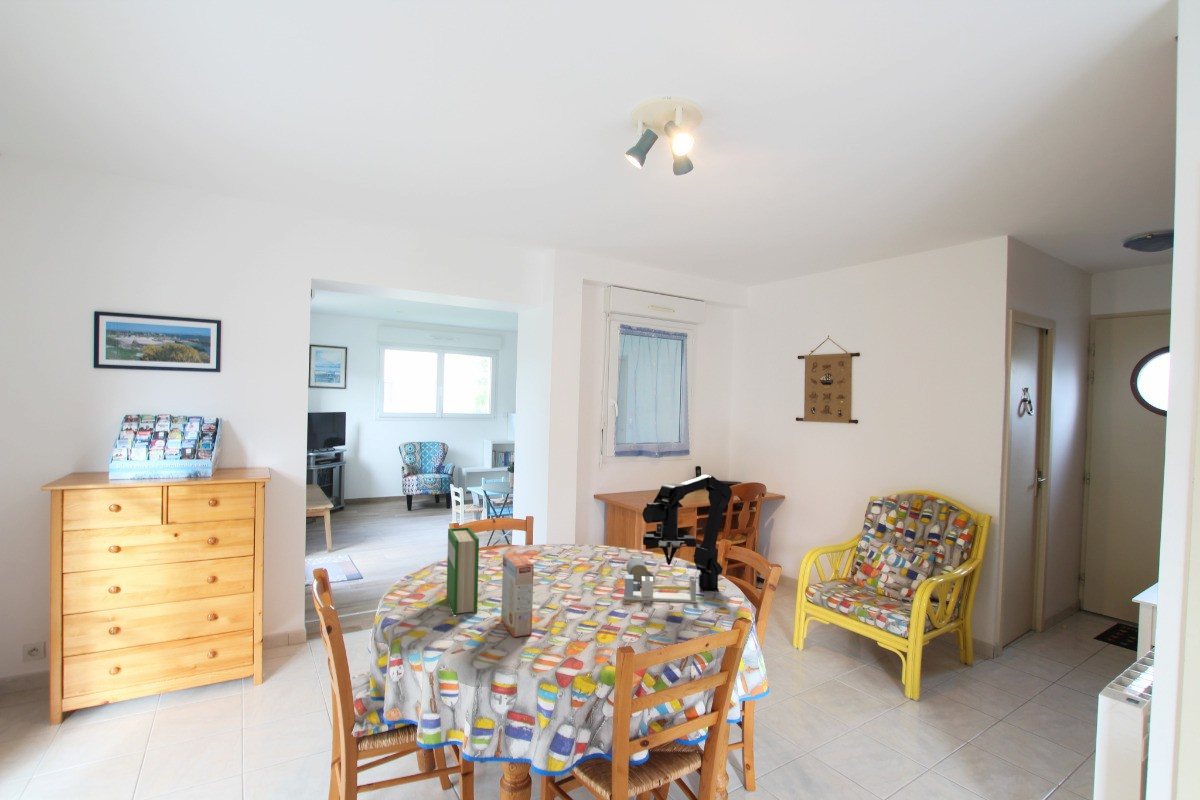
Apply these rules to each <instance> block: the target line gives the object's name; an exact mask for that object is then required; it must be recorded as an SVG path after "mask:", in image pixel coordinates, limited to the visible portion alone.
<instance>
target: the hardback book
mask: <svg viewBox="0 0 1200 800" xmlns="http://www.w3.org/2000/svg"><path fill="white" fill-rule="evenodd" d="M479 543H480V538H479V537H478V536H477V535H476V533H475V532H474V531H473V529H471V527H469V526H467V527H466V526H465V527H455V528H454V527H453V528H447V560H446V561H447V563H446V565H447V566H446V567H447V568H446V572H447V573H446V600H447V599H448V600H447V603H448V602H449V603H448V605H449V604H450V606H449V608H450V607H451V608H450V610H451V609H452V611H451V613H452V612H453V614H454V615H457V614H462V613H472V612H473V611H474V612H473V614H474V613H477V614H478V603H479V602H478V601H479V600H478V598H479V558H480V557H479V553H480V550H479V549H480V548H479V547H480V544H479ZM453 614H452V615H453ZM457 616H458V615H457Z"/></svg>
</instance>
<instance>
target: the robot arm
mask: <svg viewBox="0 0 1200 800" xmlns="http://www.w3.org/2000/svg"><path fill="white" fill-rule="evenodd" d="M703 489H704V490H705V491H707V492H708V496H707V498H708V503H709V505H710V506H709V510H708V515H707V516H708V517H707V521H706V525H705V530H704V533H703V534H704V535H703V538H702V543H701V544H700V545H699V546H697V543H698V542H697V539H696V538H697V537H695V535H691V534H690V535H688V534H687V535H683V537H678V527H679V525H678V524H679V509H681V508H683V507H684V505H683V504H682V503H680V501H682V500H683V499H684V498H685V497H686V495H688V494H692V493H694V492H697V491H700V490H703ZM732 494H733V490H732V488H731V486H730V485H727V484H725V483H724V482H722V481H721V480H718V479H717V478H715V476H713V475H712V474H711V475H710V474H702V475H700V476H697V477H695V478H691V479H688V480H685V481H682V482H679V483H666V484H663V485H661V486H660V489H659V491H658V493H657V495H656V496H655V498H654V500H653V503H650V502H647V503H646V507H644V508H643V510H642V520H643V521H644V523H646V524H654V523H656V526H655V527H656V530H655V531H656V534H660V536H655V535H654V533H643V535H642V546H643V545H644V546H653V545H654V544H655V543H658V548H659V549H662V551H663V553H664V556H665V561H666V563H667V565H668V566H670V565H671V564H672V561H673V559H674V555H675V554H676V553H677V550H679V549H680V548H681V546H680V545H681V544H685V545H686V547H688V548H694V553H693V555H692V557H693V562H694V564H695V569H696V570H697V571H699V574H698V583H697V584H698V587H699V588H700V591H705V592H706V591H710V592H719V588H718V587H719V576H720V575H722V574H723V570H724V569H723V567H722V565H721V564H720V563H719V562H718V558H719V555H718V551H717V541H718V536H719V533H720V528H721V527H720V526H721V523H722V518H723V513H724V509H725V508H726V507H727V506H728V505H729V503H730V501H731V499H732ZM668 544H670V546H669V547H670V548H669V547H668ZM668 548H669V549H668ZM680 550H681V549H680Z"/></svg>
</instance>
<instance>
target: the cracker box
mask: <svg viewBox="0 0 1200 800" xmlns="http://www.w3.org/2000/svg"><path fill="white" fill-rule="evenodd" d="M534 567H535V566H534V563H533V562H532V561H530V560H529V559H527V558H526V557H525V556H524V555H523V554H522V553H520V552H515V553H513V552H512V553H506V554H502V583H501V584H502V585H501V586H502V587H501V614H500V615H501V618H500V620H501V622H502V624H503V625H504V626H505V628H506V629H507V631H508V632H509V633H510V635H511V636H512V637H513V638H518V637H525V636H532V634H533V633H532V631H533V604H534V603H533V601H534V599H533V598H534V597H533V596H534Z"/></svg>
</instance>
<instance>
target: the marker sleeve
mask: <svg viewBox="0 0 1200 800" xmlns="http://www.w3.org/2000/svg"><path fill="white" fill-rule="evenodd" d="M641 585H642V588H640V592H641V593H642V596H650V597H653V592H654V589H653V585H654V580H653V577H649V576H642V582H641Z"/></svg>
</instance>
